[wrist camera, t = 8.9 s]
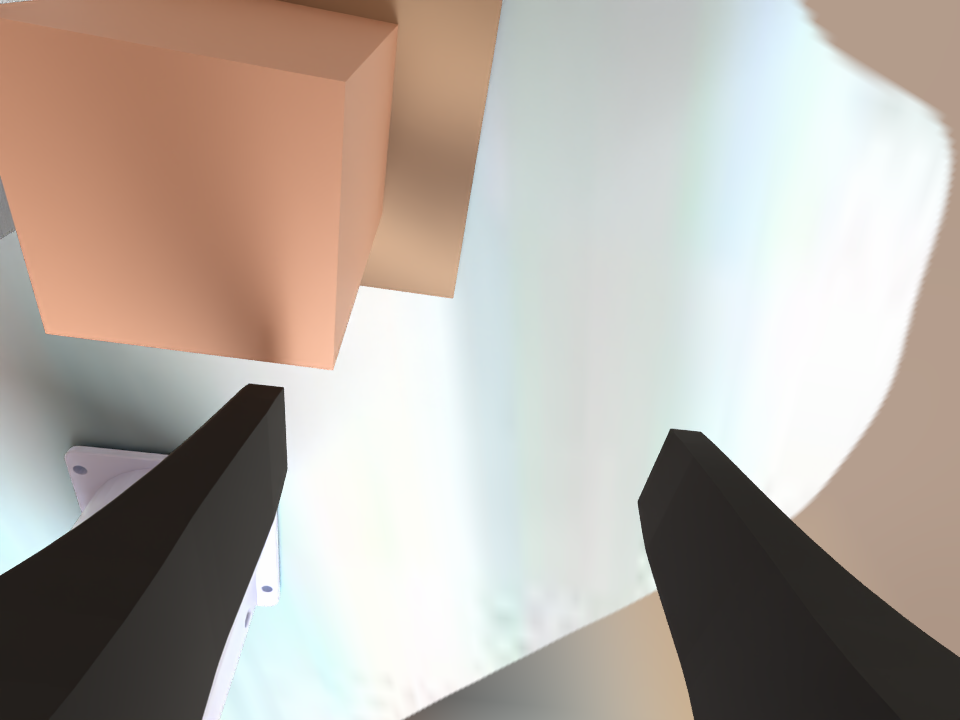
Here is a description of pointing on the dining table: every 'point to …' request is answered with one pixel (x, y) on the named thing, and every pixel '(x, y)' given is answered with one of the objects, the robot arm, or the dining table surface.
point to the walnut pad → (428, 135)
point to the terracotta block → (196, 169)
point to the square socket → (5, 214)
